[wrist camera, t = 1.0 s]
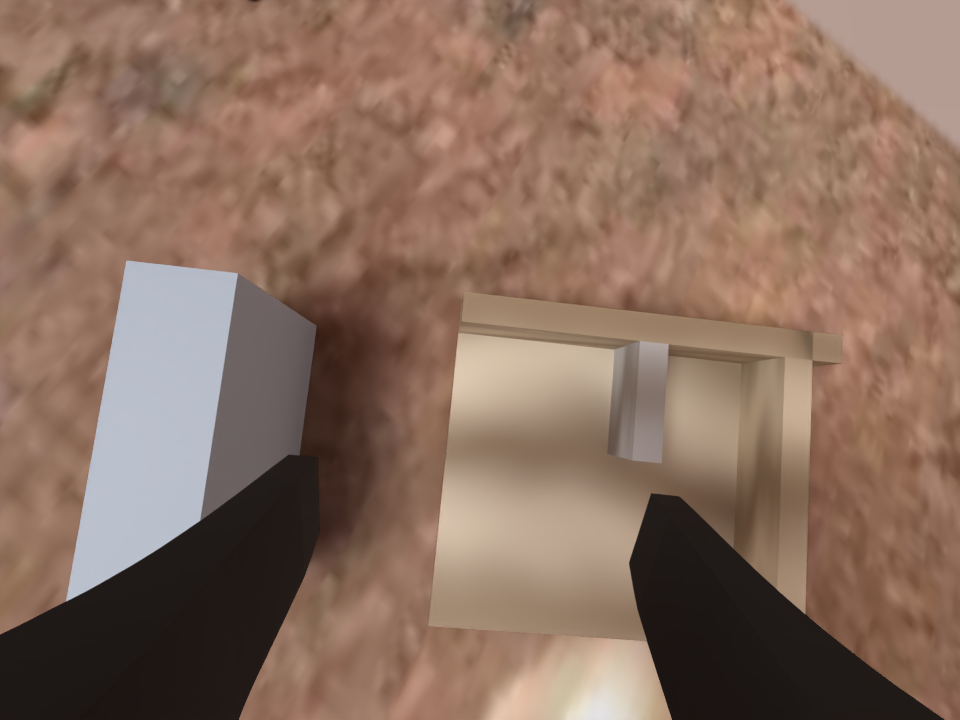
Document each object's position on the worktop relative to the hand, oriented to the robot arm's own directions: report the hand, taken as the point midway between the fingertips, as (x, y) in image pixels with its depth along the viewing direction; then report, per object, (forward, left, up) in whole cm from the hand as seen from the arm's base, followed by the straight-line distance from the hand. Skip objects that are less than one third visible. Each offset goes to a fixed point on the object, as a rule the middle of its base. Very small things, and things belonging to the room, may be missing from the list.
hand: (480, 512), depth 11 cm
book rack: (0, -7, -12) cm, 14 cm away
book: (0, +9, -12) cm, 15 cm away
